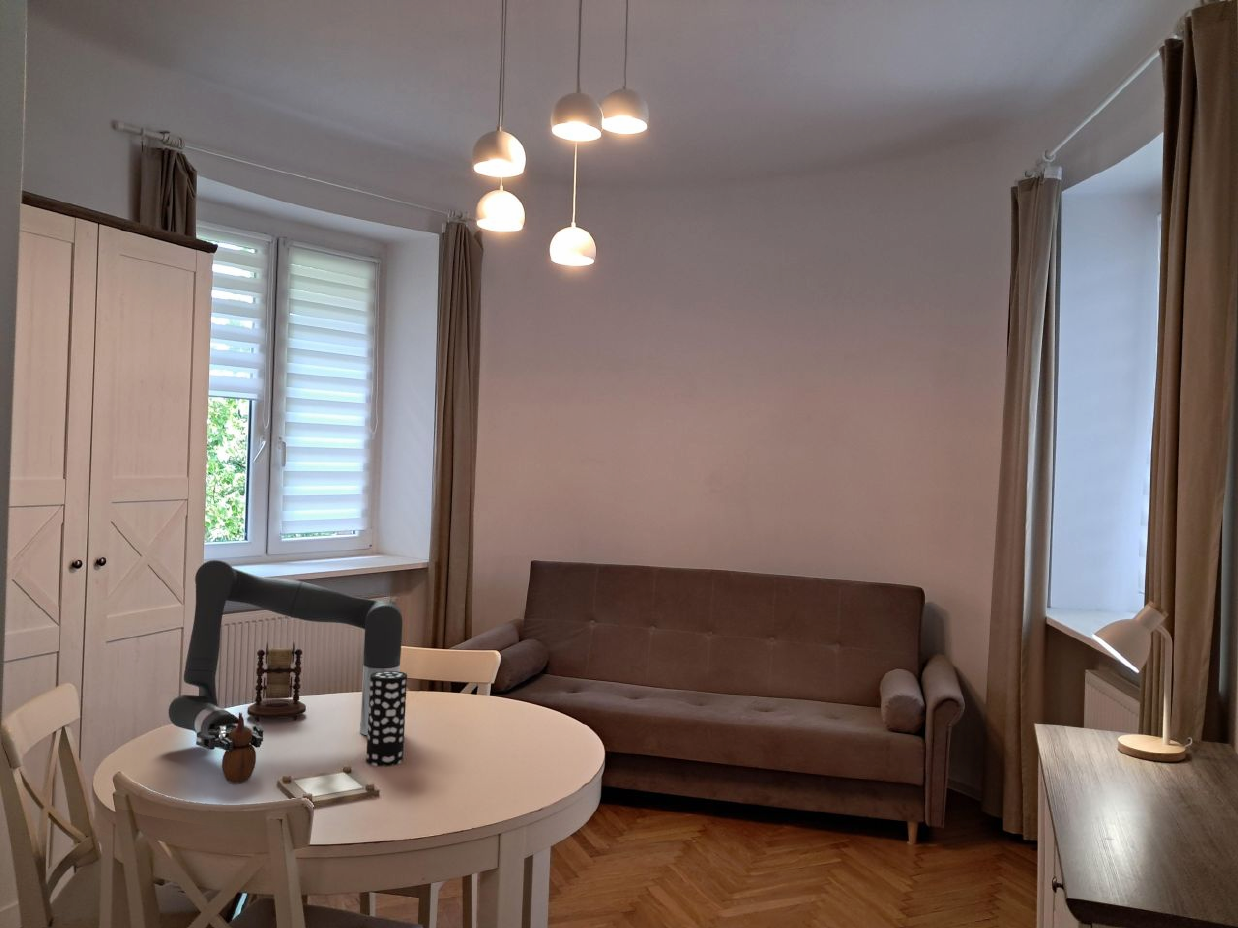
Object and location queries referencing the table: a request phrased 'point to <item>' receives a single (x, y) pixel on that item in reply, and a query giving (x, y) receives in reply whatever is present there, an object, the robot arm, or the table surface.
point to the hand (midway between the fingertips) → (245, 744)
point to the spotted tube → (386, 718)
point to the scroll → (278, 685)
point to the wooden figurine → (239, 754)
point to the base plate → (328, 787)
